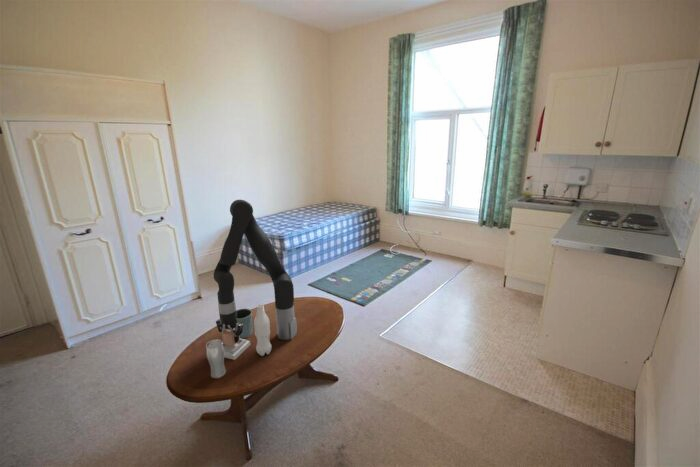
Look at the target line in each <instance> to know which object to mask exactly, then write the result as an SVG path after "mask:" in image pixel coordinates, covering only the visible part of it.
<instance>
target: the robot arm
mask: <svg viewBox="0 0 700 467" xmlns="http://www.w3.org/2000/svg"><path fill="white" fill-rule="evenodd" d="M229 212H230V215H231V224H230V228H229V232H228V234H227V237H226V239H225V241H224V244H223V247H222V250H221V254H220V258H219V261H218V262H217V264H216V266H215V268H214V271H213V279H214V281H215V282H216V283H217V285H218V291H217V302H218V305H217V306H218V315H219V318H218V319H217V320H216V321H215V324H216V327H217V331H218V332H219V333H222V332H224V331H225V330H226V329H229V330H230V331H231V333H233V334H234V341H235V343H237V342H238V341H239V335H241V334H242V329H243V323H241V324H239V323H238V322H237V320H236V318H237V312H236V310H237V306H236V300H235V293H234V289H235V278H234V274H232V272H231V269H232V267H234V266H235V265H236V263H237V260H238V257H239V253H240V248H241V245H242V241H243V238H244V236H245V238H246V240H247V242H248V244H249V247H250V249H251V250H252V252H253V254H254V255H255V257H256V259H257V260H258V262H259V263H260V264H261V265H262V266H263V267H264V268H265V270H267V272H268V274H269V276H270V279H271V281H272V284H273V285H272V286H273V290H274V306H275V307H274V308H275V309H274V310H275V319H276V334H277V338H278V339H280V340H282V341H286V340H287V341H288V340H293V338H294V337H295V336H297V333H298V331H297V330H298V327H297V317H295V306H294V305H295V304H294V302H295V295H294V294H295V292H294V283H293V281H292V278H291V277H290V275H289V274H288V272H287V271H286V270H285V268H284V266H283V265H282V263H281V261H280V259H279V256H278V254H277V251H276V250H275V247H274V246H273V244H272V242H271V240H270V239H269V237H268V236H267V234H266V233H265V232H264V230H263V228H261V227H260V225H259V224H258V221H257V220H256V218H255V216H254V208H253V206H252V204H251V203H250V202H248V201H246V200H244V199H236V200H233V201H232V203H231V204H230V207H229ZM234 328H235V329H234ZM233 329H234V330H233ZM235 331H236V333H235Z"/></svg>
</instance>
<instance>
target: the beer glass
mask: <svg viewBox="0 0 700 467" xmlns="http://www.w3.org/2000/svg"><path fill="white" fill-rule="evenodd" d="M205 349H206V350H205V351H206V353H205V354H206V359H207V361H208V364H209V366H210V377H211V378H212V379H220V378H222V377H223V376H224V375H225V374H226V373H227V370H226V367H225V357H224V346H223V340H222V339H217V338H216V339H213V340H212V339H211V340H210V341H207V343H206V344H205Z"/></svg>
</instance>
